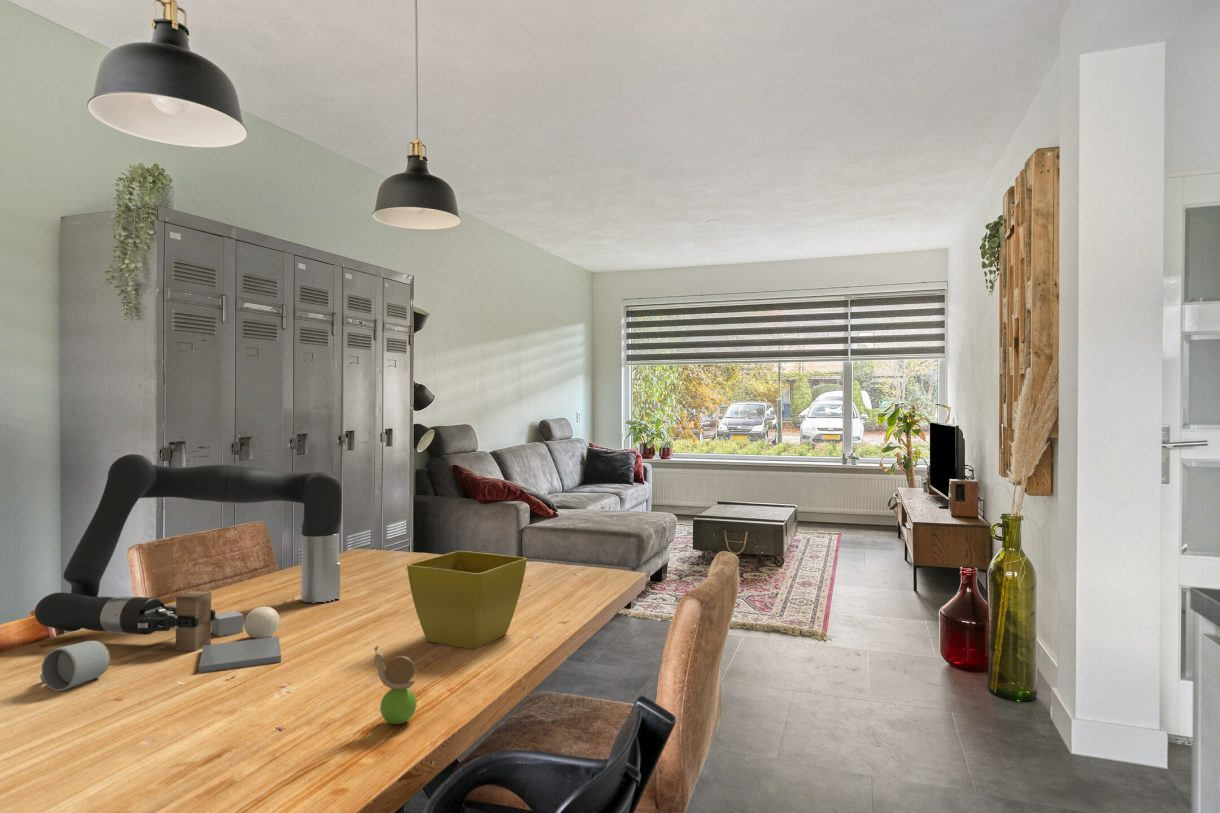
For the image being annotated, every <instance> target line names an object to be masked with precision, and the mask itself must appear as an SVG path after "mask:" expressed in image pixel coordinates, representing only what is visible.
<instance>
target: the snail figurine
mask: <svg viewBox="0 0 1220 813" xmlns="http://www.w3.org/2000/svg"><path fill="white" fill-rule="evenodd" d="M379 648H380V646H379V645H376V646H375V647H374V651H375V652H377V651H378V650H379ZM384 659H385V655H383V654H382V653H378V652H377V653H375V655H374V661H375V664H376V670H377V675H378V678H379V679H380V681H381V683H382V684H383V685H384V686H385V687H387V688H389V690H388V691H387V692H386V693H385V694H384V695H383V697H382V699H381V702H380V707H379V708H380V709H379V710H380V713H381V716H382V719H384V720H385V721H386V722H387V723H389V724H392V725H401V724H404V723H406V722H407V721H409V720H410V719H411V718H412V717H413V716H414V714H415V712H416V708H417V698H416V696H415V694H414V693H413V691H412V690H410V689H409V688H412V686H413V685H414V684H415V683H416V680H413V679H412V678H413V677H414V676H415V673H416V667H415V663H414V662H413V660H412V659H410V657H408V656H405V655H397V656H395V657H392V658H391V659H390V660H389V661H388V662H387V664H386V667H385V664H384ZM411 679H412V680H411Z"/></svg>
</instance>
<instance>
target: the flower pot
mask: <svg viewBox="0 0 1220 813" xmlns="http://www.w3.org/2000/svg"><path fill="white" fill-rule="evenodd" d="M406 567H407V574H408V576H407V577H408V581H409V582H408V583H409V586H410V592H411V596H412V601H413V604H414V608H415V610H416V611H415V612H416V614H417V618H418V620H419V623H420V626H421V628H422V631H423V632H422V633H423V634H424V636H425V639H426V641H427V642H431V643H437V644H440V645H448V646H453V647H456V648H457V647H459V648H462V649H463V648H464V649H469V650H476V649H479V648H481V647H482V646H485V645H486V644H489V643H491V642H493V641H494V640H497V639H499V638H501V637H502V636H505V635H506V634H507V633H508V630H509V628H510V627H511V626H510V625H511V622H512V619H513V618H514V614H515V611H516V609H517V605H518V602H519V599H520V595H521V590H522V587H523V584H524V583H523V582H524V578H525V573H526V568H527V557H523V556H515V555H514V556H513V555H507V554H505V555H504V554H495V553H487V552H477V551H468V550H456V551H453V552H448V553H444V554H441V555H438V556H434V557H430V558H426V559H422V560H418V561H415V562H411V563H408V564H407V565H406Z"/></svg>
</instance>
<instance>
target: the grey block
mask: <svg viewBox="0 0 1220 813" xmlns="http://www.w3.org/2000/svg"><path fill="white" fill-rule="evenodd" d="M212 632H213V633H212ZM239 632H242V633H244V614H243V613H241V612H240V611H237V610H232V611H226V612H220V613H215V620H213V621H211V633H212V634H214V633H215V634H216V635H215V634H214V635H215V636H217V637H218V636H221V637H225V636H224V635H226V636H230V634H232V635H235V634H236V633H237V634H240V633H239Z"/></svg>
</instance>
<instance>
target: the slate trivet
mask: <svg viewBox="0 0 1220 813" xmlns="http://www.w3.org/2000/svg"><path fill="white" fill-rule="evenodd" d="M280 644H281V642H280V637H279V636H270V637H267V638H261V639H255V638H253V639H247V640H239V641H228V642H221V643H211V644H210V645H203V648H202V649H201V650H202V651H201V655H200V660H199V664H198V673H199V674H201V673H208V672H216V671H223V670H230V669H238V668H246V667H252V666H253V667H254V666H260V665H268V664H274V663H281V662H282V652H281V646H280Z"/></svg>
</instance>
